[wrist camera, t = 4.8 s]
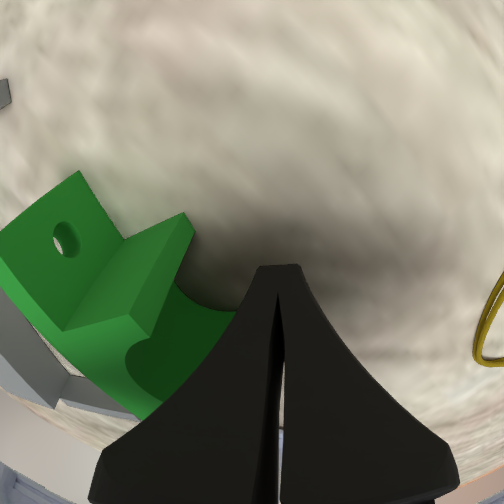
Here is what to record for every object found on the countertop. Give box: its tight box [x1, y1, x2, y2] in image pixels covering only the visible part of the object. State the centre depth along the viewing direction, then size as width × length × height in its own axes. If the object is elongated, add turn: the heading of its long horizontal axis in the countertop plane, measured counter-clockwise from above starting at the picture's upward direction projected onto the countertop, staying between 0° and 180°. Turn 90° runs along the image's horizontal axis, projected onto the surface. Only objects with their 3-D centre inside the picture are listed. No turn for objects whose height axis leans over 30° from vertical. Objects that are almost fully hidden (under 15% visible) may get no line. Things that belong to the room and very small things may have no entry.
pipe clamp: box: [0, 171, 237, 421], centre depth 9 cm, size 11×4×5 cm, turn 25°
